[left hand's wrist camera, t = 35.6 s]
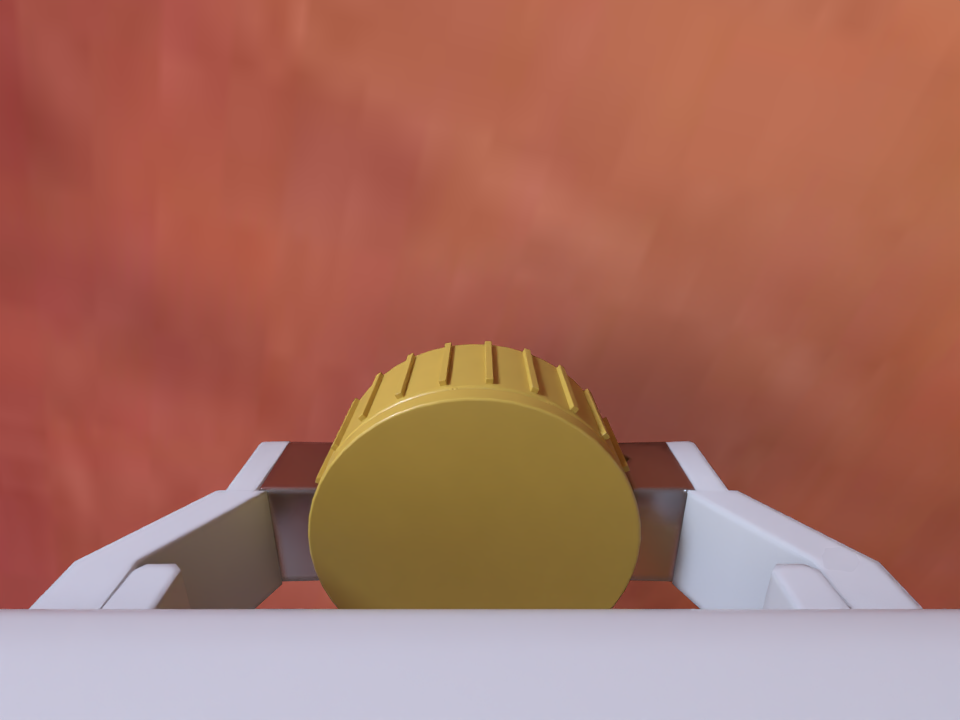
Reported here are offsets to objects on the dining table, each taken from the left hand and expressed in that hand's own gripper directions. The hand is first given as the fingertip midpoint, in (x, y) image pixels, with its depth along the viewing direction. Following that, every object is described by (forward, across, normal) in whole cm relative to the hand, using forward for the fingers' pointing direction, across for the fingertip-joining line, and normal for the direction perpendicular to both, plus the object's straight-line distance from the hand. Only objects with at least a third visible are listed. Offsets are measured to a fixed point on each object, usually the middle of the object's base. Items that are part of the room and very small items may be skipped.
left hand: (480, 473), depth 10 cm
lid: (-2, 0, 0) cm, 2 cm away
